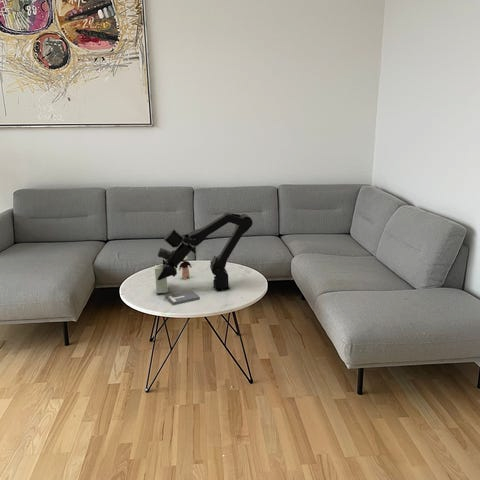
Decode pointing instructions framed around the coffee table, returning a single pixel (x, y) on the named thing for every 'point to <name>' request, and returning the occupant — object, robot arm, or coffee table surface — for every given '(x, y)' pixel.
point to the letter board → (182, 297)
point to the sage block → (160, 284)
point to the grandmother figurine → (185, 268)
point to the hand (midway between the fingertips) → (158, 277)
